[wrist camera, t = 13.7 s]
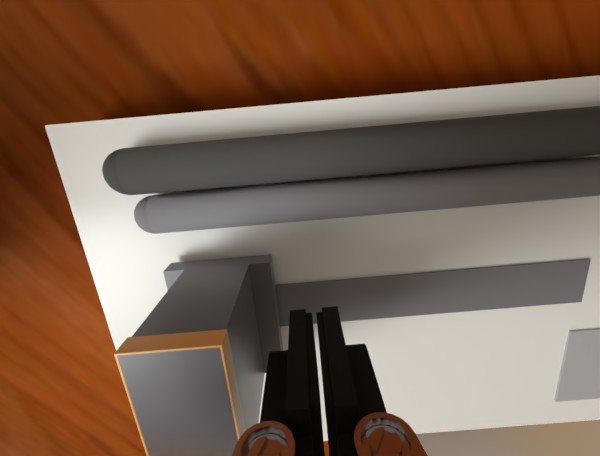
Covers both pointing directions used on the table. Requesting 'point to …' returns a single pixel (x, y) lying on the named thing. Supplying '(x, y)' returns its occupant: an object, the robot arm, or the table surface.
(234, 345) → the handle
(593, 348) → the base
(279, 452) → the robot arm
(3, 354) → the table surface
